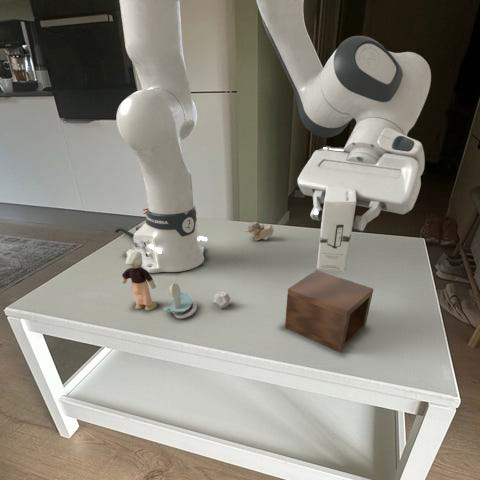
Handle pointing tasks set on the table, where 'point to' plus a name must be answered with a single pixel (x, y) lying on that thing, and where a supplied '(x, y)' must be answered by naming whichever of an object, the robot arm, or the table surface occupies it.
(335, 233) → the ink box
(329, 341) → the shelf
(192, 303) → the pacifier
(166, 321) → the table surface
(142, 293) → the grandmother figurine
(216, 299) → the game die
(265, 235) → the toy character
